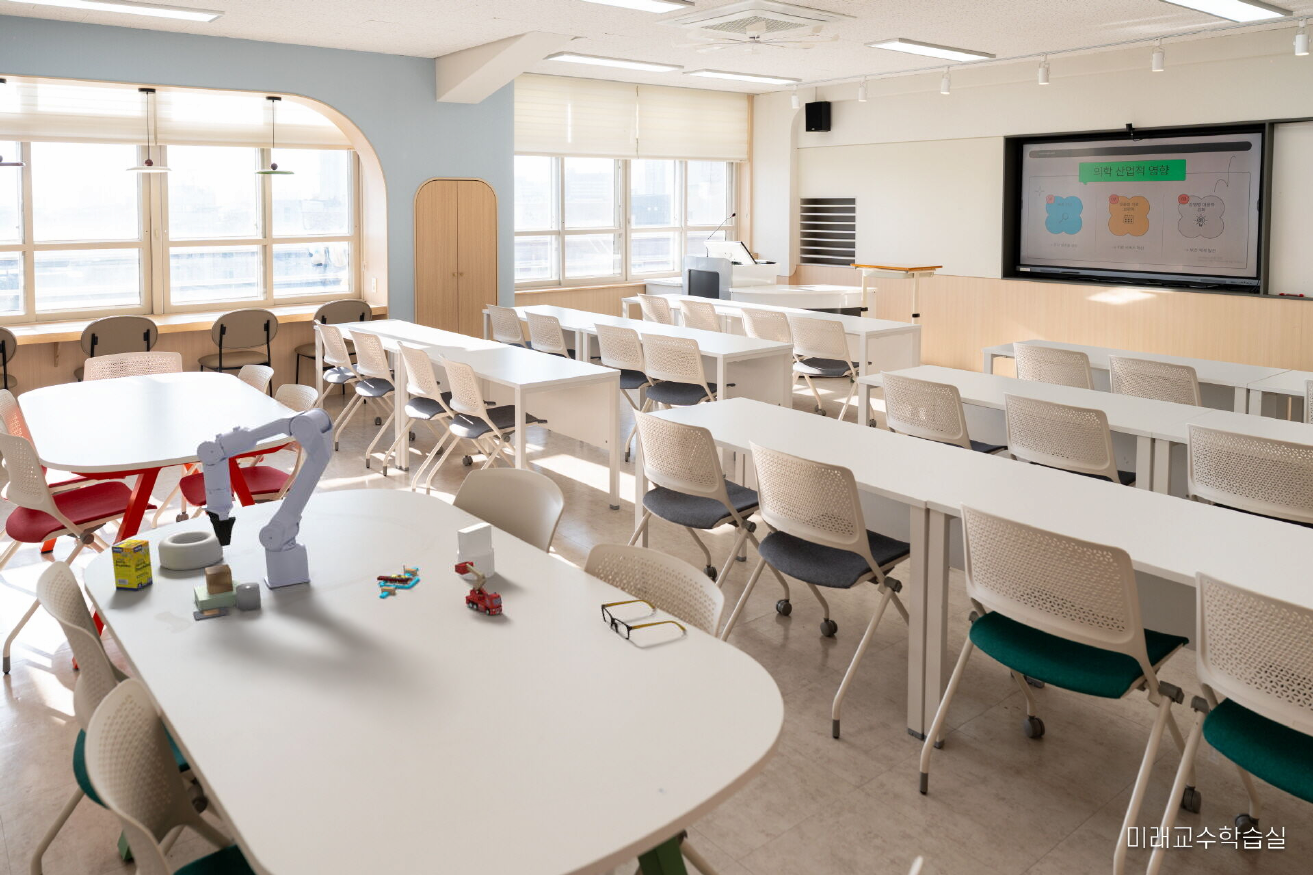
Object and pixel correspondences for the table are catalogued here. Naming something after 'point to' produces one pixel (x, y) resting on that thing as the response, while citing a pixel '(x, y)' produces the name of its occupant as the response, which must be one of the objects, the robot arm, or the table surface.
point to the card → (211, 613)
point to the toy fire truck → (480, 591)
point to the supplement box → (132, 564)
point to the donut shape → (190, 550)
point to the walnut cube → (219, 579)
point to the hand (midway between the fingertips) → (223, 541)
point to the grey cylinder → (248, 596)
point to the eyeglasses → (635, 625)
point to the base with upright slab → (476, 549)
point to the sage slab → (215, 597)
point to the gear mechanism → (402, 581)
